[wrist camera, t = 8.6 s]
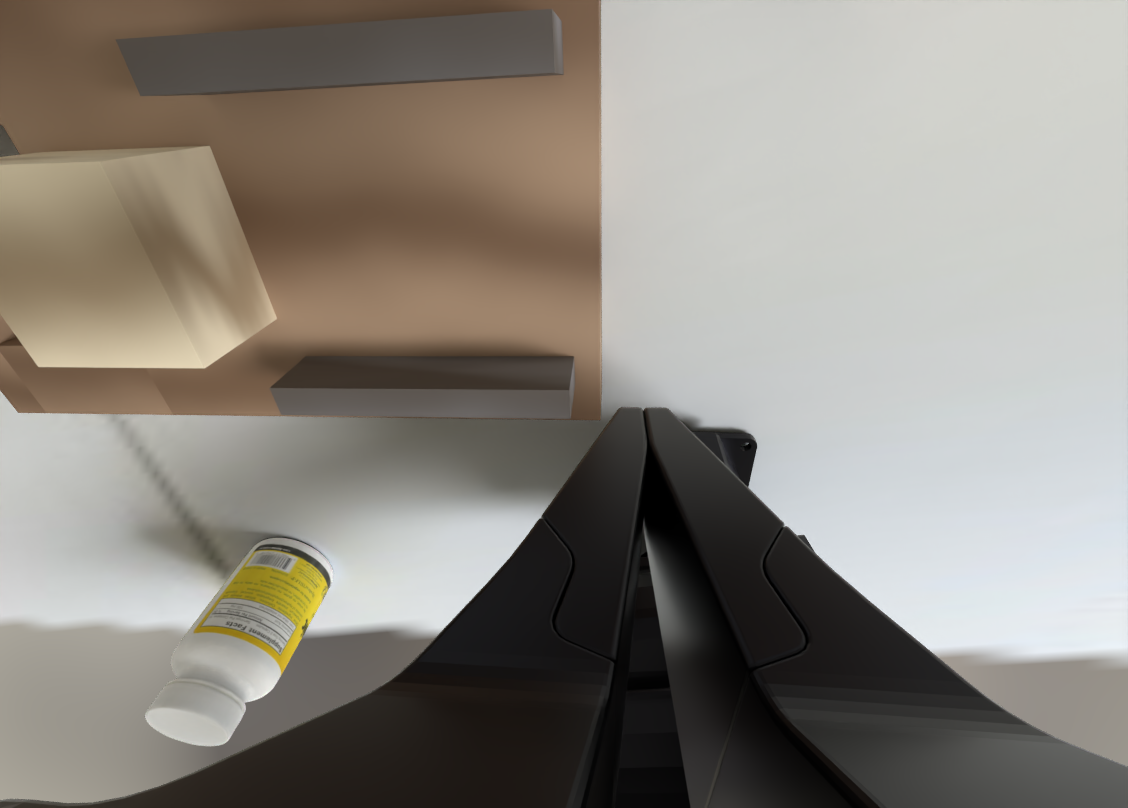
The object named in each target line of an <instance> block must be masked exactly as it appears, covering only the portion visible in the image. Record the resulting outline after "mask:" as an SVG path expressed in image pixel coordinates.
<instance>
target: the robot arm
mask: <svg viewBox="0 0 1128 808" xmlns="http://www.w3.org/2000/svg"><path fill="white" fill-rule="evenodd" d="M743 443H749V444H748V445H746V446H741V445H742V444H743ZM756 449H757V443H756V440H755V438H754V437H753V436H752V435H751V434H747V433H715V432H691V431H690V430H689V429H688V428H687V427H686V426H685V425H684V424H683V423H682V422H681V421H680V420H679V419H678V418H677V417H676V416H675V415H674V414H673V413H672V412H671V411H670V410H669V409H667V408H645V409H644V411H643V410H642V408H639V407H621V408H619V409H618V410H617V412H616V413H615V414H614V416H613V417H612V419H611V420H610V421H609V423H608V424H607V426H606V427H605V428H604V430H603V431H602V433H601V434H600V435H599V437H598V438H597V439H596V441H595V442H594V444H593V445H592V446H591V448H590V449H589V451H588V452H587V453H586V455H585V456H584V458H583V459H582V460H581V462H580V463H579V464H578V466H577V467H576V469H575V470H574V471H573V473H572V474H571V476H570V477H569V478H568V480H567V481H566V483H565V484H564V485H563V487H562V488H561V489H560V491H559V492H558V494H557V495H556V496H555V498H554V499H553V501H552V502H551V503H550V505H549V506H548V508H547V509H546V510H545V512H544V513H543V514H542V516H541V518H540V519H539V520H538V521H537V522H536V524H535V525H534V527H533V528H532V529H531V531H530V532H529V534H528V535H527V536H526V538H525V539H524V540H523V541H522V543H521V544H520V545H519V547H518V548H517V549H516V550H515V552H514V553H513V554H512V556H511V557H510V558H509V559H508V560H507V561H506V563H505V564H504V565H503V566H502V567H501V568H500V569H499V570H498V572H497V573H496V574H495V575H494V576H493V577H492V578H491V579H490V580H489V582H488V583H487V584H486V585H485V586H484V587H483V588H482V589H481V590H480V591H479V592H478V593H477V594H476V595H475V596H474V598H473V599H472V600H471V601H470V602H469V603H468V604H467V605H466V606H465V607H464V608H463V609H462V610H461V611H460V612H459V613H458V614H457V616H456V617H455V618H454V619H453V620H452V621H451V622H450V623H449V624H448V625H447V626H446V627H445V628H444V629H443V630H442V631H441V632H440V634H439V635H438V636H437V637H436V638H435V639H434V640H433V641H432V642H431V643H430V644H429V645H428V646H427V647H426V649H424V650H423V651H422V652H421V653H420V654H419V656H417V658H416V659H415V660H413V661H412V662H411V663H410V664H409V665H408V666H407V667H406V668H404V669H403V670H402V671H401V672H400V673H398V674H397V675H396V676H394V677H393V678H392V679H390V680H389V681H387V682H386V683H385V684H383V685H381V686H380V687H378V688H377V689H375V690H373V691H371V692H369V693H367V694H365V695H363V696H361V697H359V698H356V699H354V700H352V701H350V702H348V703H345V704H343V705H341V706H339V707H337V708H334V709H332V710H330V711H328V712H325V713H323V714H321V715H319V716H317V717H315V718H312V719H310V720H308V721H306V722H303V723H301V724H299V725H297V726H295V727H293V728H290V729H288V730H286V731H284V732H281V733H279V734H277V735H275V736H273V737H271V738H268V739H266V740H264V741H262V742H259V743H257V744H255V745H253V746H251V747H248V748H246V749H244V750H242V751H240V752H237V753H235V754H233V755H231V756H229V757H226V758H224V759H222V760H220V761H217V762H215V763H213V764H211V765H209V766H206V767H204V768H202V769H200V770H198V771H195V772H194V773H191V774H188V775H186V776H183V777H181V778H178V779H176V780H174V781H171V782H169V783H166V784H164V785H161V786H159V787H155V788H152V789H148V790H145V791H142V792H138V793H135V794H132V795H129V796H125V797H120V798H114V799H109V800H104V801H99V802H93V803H59V802H49V801H39V800H25V799H6V800H0V808H1128V766H1125V765H1123V764H1120V763H1118V762H1115V761H1113V760H1110V759H1107V758H1105V757H1102V756H1100V755H1097V754H1095V753H1092V752H1090V751H1087V750H1085V749H1082V748H1080V747H1077V746H1075V745H1072V744H1070V743H1068V742H1065V741H1063V740H1061V739H1058V738H1055V737H1054V736H1052V735H1050V734H1048V733H1046V732H1044V731H1042V730H1040V729H1038V728H1036V727H1034V726H1032V725H1030V724H1028V723H1026V722H1025V721H1023V720H1022V719H1020V718H1018V717H1017V716H1015V715H1013V714H1012V713H1010V712H1008V711H1007V710H1005V709H1004V708H1003V707H1001V706H1000V705H998V704H997V703H995V702H994V701H992V700H991V699H989V698H988V697H987V696H985V695H984V694H983V693H982V692H980V691H979V690H978V689H976V688H975V687H974V686H972V685H971V684H970V683H969V682H967V681H966V680H965V679H964V678H962V677H961V676H960V675H959V674H958V673H956V672H955V671H954V670H953V669H951V668H950V667H949V666H948V665H947V664H945V663H944V662H943V661H942V660H940V659H939V658H938V657H937V656H936V655H934V654H933V653H932V652H931V651H930V650H928V649H927V648H926V647H925V646H924V645H922V644H921V643H920V642H919V641H917V640H916V639H915V638H914V637H913V636H911V635H910V634H909V633H908V632H906V631H905V630H904V629H903V628H902V627H900V626H899V625H898V624H897V623H896V622H894V621H893V620H892V619H891V618H889V617H888V616H887V615H886V614H885V613H883V612H882V611H881V610H880V609H878V608H877V607H876V606H875V605H874V604H872V603H871V602H870V601H869V600H868V599H866V598H865V597H864V596H863V595H862V594H861V593H859V592H858V591H857V590H856V589H855V588H854V587H852V586H851V585H850V584H849V583H848V582H847V581H845V580H844V579H843V578H842V577H841V576H840V575H838V574H837V573H836V572H835V571H834V570H833V569H832V568H831V567H829V566H828V565H827V564H826V563H825V562H824V561H823V560H822V559H821V558H820V557H819V556H818V555H817V554H816V553H815V552H814V550H813V549H812V547H811V545H810V544H809V542H808V540H807V539H806V537H805V535H798V536H797V535H796V534H795V533H794V532H793V531H792V530H791V529H790V528H789V527H787V526H785V527H784V523H783V522H782V521H781V520H780V519H779V518H778V517H777V516H776V515H775V514H774V513H773V512H772V511H771V510H770V509H769V508H768V507H767V506H766V505H765V504H764V503H763V502H762V501H761V500H760V499H759V498H758V497H757V496H756V495H755V494H754V493H753V492H752V491H751V490H750V489H749V488H748V486H749V481H750V477H751V472H752V468H753V463H754V458H755V454H756Z"/></svg>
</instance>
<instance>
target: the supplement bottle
mask: <svg viewBox="0 0 1128 808" xmlns="http://www.w3.org/2000/svg"><path fill="white" fill-rule="evenodd" d="M332 581H333V569H332V567H331V565H330V563H329V562H328V560H327V559H326V558H325V557H324V556H323V555H322V554H321V553H320V552H318V551H317V550H315V549H314V548H312V547H310V546H308V545H307V544H304V543H302V542H299V541H296V540H292V539H287V538H270V539H266V540H263V541H261V542H259V543H257V544H256V545H255V546H254V547H253V548H252V549H251V550H250V551H249V553H248V554H247V555H246V556H245V558H244V559H243V560H242V561H241V563H240V564H239V565H238V567H237V568H236V569H235V570H234V572H233V573H232V574H231V576H230V577H229V578H228V580H227V581H226V582H225V583H224V585H223V586H222V587H221V589H220V590H219V591H218V593H217V594H216V595H215V596H214V598H213V599H212V600H211V602H210V603H209V604H208V606H207V607H206V608H205V610H204V611H203V612H202V614H201V615H200V616H199V618H198V619H197V620H196V621H195V623H194V624H193V625H192V627H191V628H190V629H189V631H188V632H187V633H186V635H185V636H184V637H183V638H182V640H181V641H180V643H179V644H178V645H177V647H176V649H175V650H174V652H173V654H172V658H171V666H172V670H173V672H174V674H175V676H176V677H177V678H176V679H175V680H171V681H170V682H168V683H167V684H166V685H165V687H164V688H163V689H162V690H161V692H160V694H159V695H158V696H157V697H156V699H155V700H154V701H153V703H152V704H151V706H150V707H149V708H148V710H147V711H146V714H145V719H146V721H147V722H148V724H149V725H150V726H152V727H153V728H154V729H155V730H157V731H158V732H160V733H162V734H164V735H166V736H168V737H170V738H173V739H176V740H179V741H182V742H185V743H189V744H194V745H200V746H218V745H222V744H224V743H226V742H227V741H228V740H229V739H230V737H231V735H232V734H233V732H234V730H235V729H236V727H237V725H238V724H239V722H240V721H241V719H242V717H243V714H244V713H245V709H246V706H245V702H249V701H254V700H256V699H259V698H261V697H263V696H265V695H266V694H267V693H269V692H270V691H271V690H272V689H273V687H274V686H275V685H276V683H277V681H278V679H279V678H280V676H281V675H282V673H283V671H284V669H285V667H286V666H287V664H288V662H289V660H290V658H291V656H292V655H293V653H294V651H295V649H296V647H297V645H298V644H299V642H300V640H301V638H302V637H303V635H304V633H305V631H306V629H307V627H308V626H309V624H310V622H311V620H312V618H313V617H314V615H315V613H316V611H317V609H318V608H319V606H320V604H321V602H322V601H323V599H324V597H325V595H326V593H327V591H328V589H329V588H330V586H331V584H332Z"/></svg>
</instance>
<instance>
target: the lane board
mask: <svg viewBox="0 0 1128 808" xmlns="http://www.w3.org/2000/svg"><path fill="white" fill-rule="evenodd" d="M0 125H3V127H4V129H5V130H6V132H7V134H8V135H9V137H10V139H11V140H12V142H13V144H14V145H15V147H16V149H17V151H18V152H19V154H20V155H21V154H30V153H39V152H56V151H83V150H109V149H135V148H162V147H188V146H210V148H211V150H212V153H213V155H214V158H215V161H216V163H217V166H218V168H219V171H220V173H221V176H222V179H223V181H224V184H225V186H226V189H227V191H228V194H229V197H230V199H231V202H232V204H233V207H234V209H235V212H236V215H237V217H238V220H239V222H240V225H241V227H242V230H243V233H244V235H245V238H246V240H247V243H248V245H249V248H250V251H251V253H252V256H253V258H254V261H255V263H256V266H257V269H258V271H259V274H260V276H261V279H262V281H263V284H264V286H265V289H266V292H267V294H268V297H269V299H270V302H271V304H272V307H273V310H274V312H275V315H276V317H277V319H276V320H275V321H273V322H272V323H270V324H269V325H267V326H266V327H265V328H263V329H262V330H260V331H259V332H257V333H256V334H254V335H253V336H251V337H250V338H249V339H247V340H246V341H244V342H243V343H241V344H240V345H238V346H237V347H235V348H234V349H233V350H231V351H230V352H228V353H227V354H225V355H224V356H222V357H221V358H219V359H218V360H216V361H215V362H214V363H212V364H211V365H209V366H208V367H206V368H89V367H38V366H37V364H36V363H35V362H34V360H33V359H32V357H31V356H30V355H29V353H28V352H27V351H26V349H25V348H24V346H23V345H22V344H21V342H20V341H19V339H18V338H17V337H16V335H15V334H14V332H13V331H12V330H11V328H10V327H9V326H8V324H7V323H6V321H5V320H4V319H3V317H2V316H1V314H0V390H1V392H2V393H3V394H4V395H5V397H6V398H7V399H8V400H9V402H10V403H11V404H12V405H13V407H14V408H15V409H16V410H17V412H18V413H79V414H156V415H233V416H310V417H387V418H464V419H541V420H600V419H601V395H602V299H601V0H0Z"/></svg>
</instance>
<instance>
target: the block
mask: <svg viewBox="0 0 1128 808" xmlns="http://www.w3.org/2000/svg"><path fill="white" fill-rule="evenodd" d="M0 314H1V316H2V317H3V319H4V320H5V321H6V323H7V324H8V326H9V327H10V328H11V330H12V331H13V332H14V334H15V335H16V337H17V338H18V339H19V341H20V342H21V344H22V345H23V346H24V348H25V349H26V351H27V352H28V353H29V355H30V356H31V357H32V359H33V360H34V362H35V363H36V364H37V366H38V367H89V368H206V367H208V366H209V365H211V364H212V363H214V362H215V361H216V360H218V359H219V358H221V357H222V356H224V355H225V354H227V353H228V352H230V351H231V350H233V349H234V348H235V347H237V346H238V345H240V344H241V343H243V342H244V341H246V340H247V339H249V338H250V337H251V336H253V335H254V334H256V333H257V332H259V331H260V330H262V329H263V328H265V327H266V326H267V325H269V324H270V323H272V322H273V321H275V320H276V319H277V317H276V315H275V312H274V310H273V307H272V304H271V302H270V299H269V297H268V294H267V292H266V289H265V286H264V284H263V281H262V279H261V276H260V274H259V271H258V269H257V266H256V263H255V261H254V258H253V256H252V253H251V251H250V248H249V245H248V243H247V240H246V238H245V235H244V233H243V230H242V227H241V225H240V222H239V220H238V217H237V215H236V212H235V209H234V207H233V204H232V202H231V199H230V197H229V194H228V191H227V189H226V186H225V184H224V181H223V179H222V176H221V173H220V171H219V168H218V166H217V163H216V161H215V158H214V155H213V153H212V150H211V148H210V146H188V147H162V148H135V149H109V150H83V151H56V152H39V153H30V154H21V155H13V156H4V157H0Z"/></svg>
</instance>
